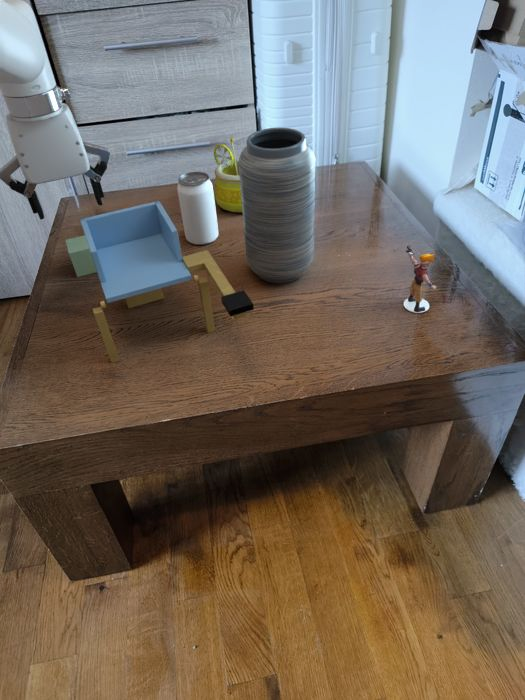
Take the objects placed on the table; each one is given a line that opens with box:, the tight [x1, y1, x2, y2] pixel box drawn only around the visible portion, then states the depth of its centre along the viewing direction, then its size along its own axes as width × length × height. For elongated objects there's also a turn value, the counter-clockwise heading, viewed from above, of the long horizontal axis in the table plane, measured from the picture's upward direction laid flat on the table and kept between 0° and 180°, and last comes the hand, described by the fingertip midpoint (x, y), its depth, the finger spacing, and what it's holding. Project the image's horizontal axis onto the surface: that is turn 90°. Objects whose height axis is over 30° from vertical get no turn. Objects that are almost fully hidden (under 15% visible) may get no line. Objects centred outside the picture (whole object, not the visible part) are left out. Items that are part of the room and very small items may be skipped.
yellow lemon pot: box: [213, 136, 243, 213], centre depth 106 cm, size 13×11×12 cm
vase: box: [238, 127, 316, 284], centre depth 83 cm, size 12×12×23 cm
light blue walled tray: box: [79, 200, 255, 320], centre depth 70 cm, size 17×26×6 cm, turn 23°
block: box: [64, 234, 97, 278], centre depth 93 cm, size 5×5×5 cm
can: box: [176, 171, 219, 246], centre depth 96 cm, size 6×6×12 cm
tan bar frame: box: [92, 274, 216, 364], centre depth 78 cm, size 16×13×10 cm
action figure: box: [403, 245, 438, 314], centre depth 79 cm, size 12×3×9 cm, turn 9°
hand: (70, 208), depth 87 cm, fingers open, 9 cm apart
